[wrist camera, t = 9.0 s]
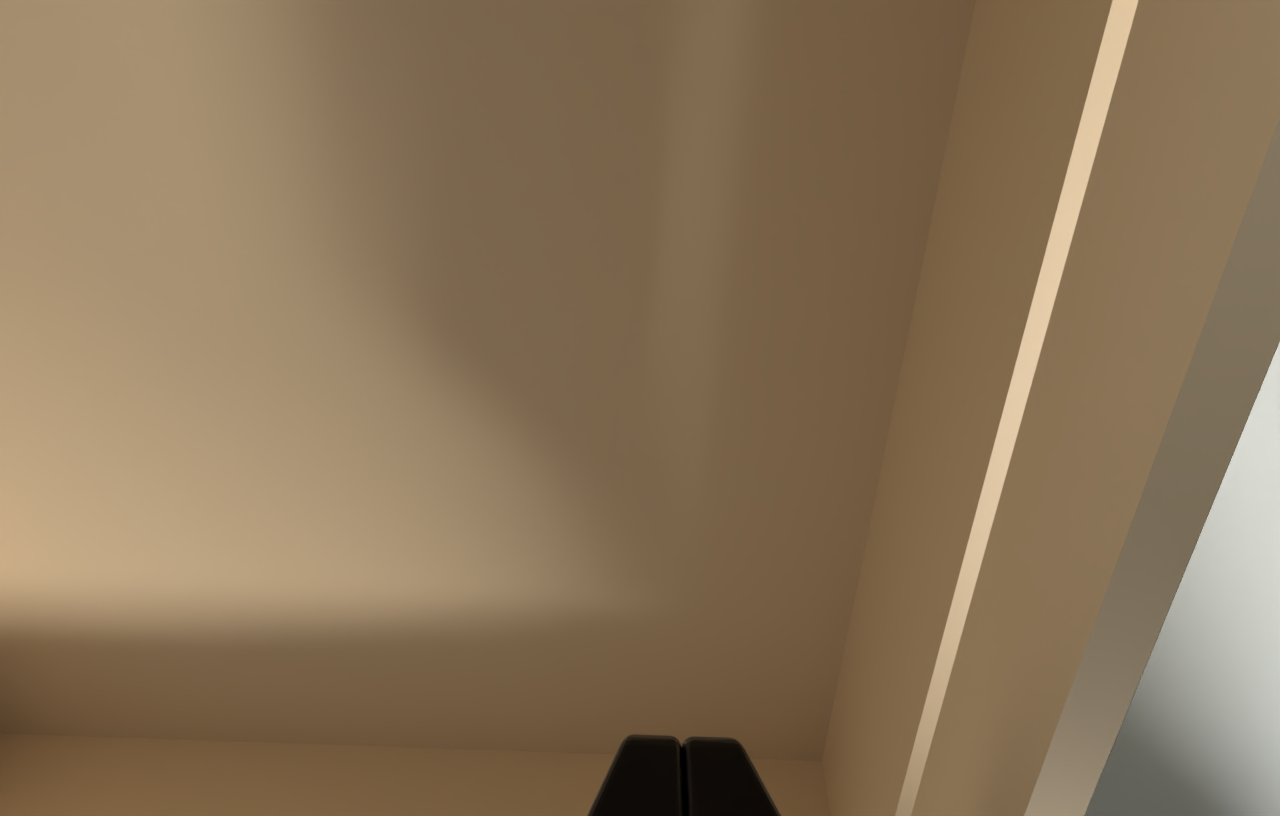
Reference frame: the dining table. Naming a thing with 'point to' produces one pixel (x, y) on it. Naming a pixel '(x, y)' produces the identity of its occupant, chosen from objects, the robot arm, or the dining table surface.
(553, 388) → the carton
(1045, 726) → the flap
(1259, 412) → the dining table surface
